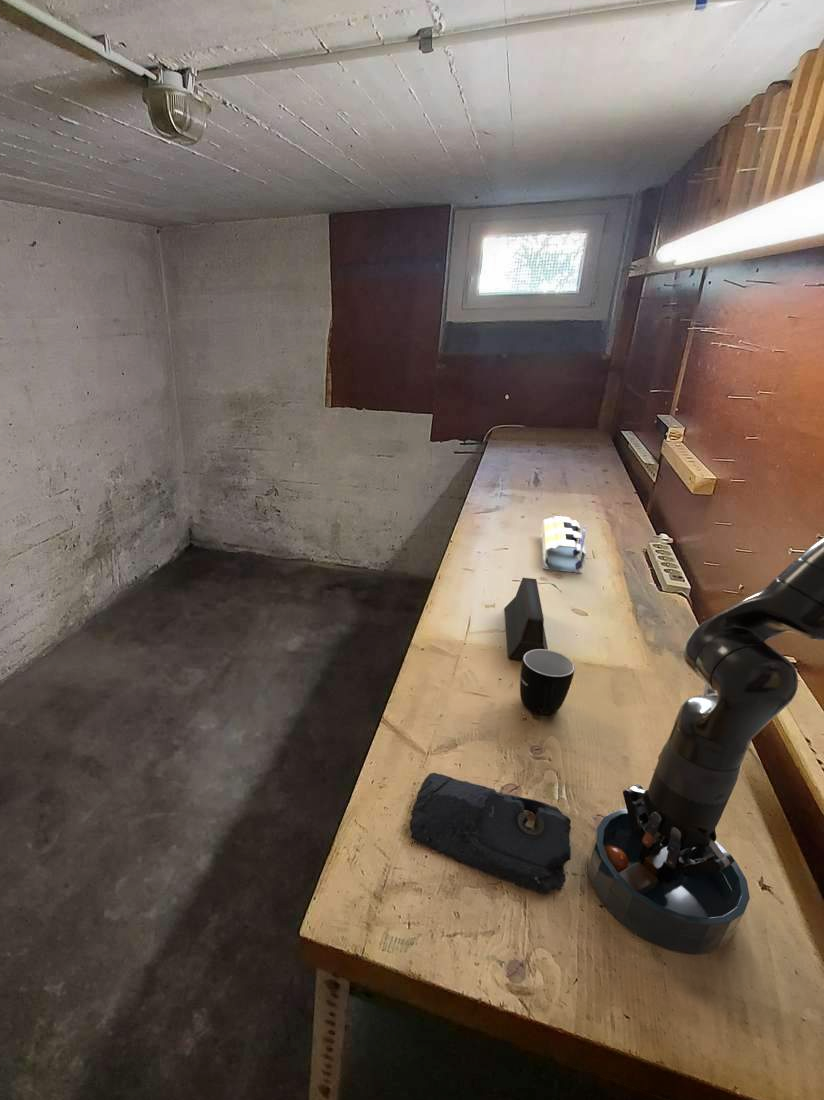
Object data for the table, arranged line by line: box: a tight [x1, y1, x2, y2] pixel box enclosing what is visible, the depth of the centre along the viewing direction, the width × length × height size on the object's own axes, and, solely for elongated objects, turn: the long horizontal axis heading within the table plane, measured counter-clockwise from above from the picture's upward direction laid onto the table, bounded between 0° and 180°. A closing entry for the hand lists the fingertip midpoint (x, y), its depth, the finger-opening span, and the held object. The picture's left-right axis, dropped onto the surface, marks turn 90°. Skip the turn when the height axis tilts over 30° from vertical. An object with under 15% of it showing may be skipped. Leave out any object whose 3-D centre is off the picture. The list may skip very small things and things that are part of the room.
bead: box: [604, 845, 628, 873], centre depth 77 cm, size 4×4×4 cm
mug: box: [519, 649, 576, 716], centre depth 106 cm, size 12×9×10 cm
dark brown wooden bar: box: [618, 847, 698, 895], centre depth 75 cm, size 12×3×3 cm, turn 113°
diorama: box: [540, 515, 587, 574], centre depth 169 cm, size 25×10×13 cm, turn 159°
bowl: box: [587, 808, 751, 955], centre depth 74 cm, size 17×17×6 cm
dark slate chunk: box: [409, 772, 572, 894], centre depth 84 cm, size 15×22×5 cm
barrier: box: [503, 577, 549, 661], centre depth 130 cm, size 24×9×10 cm, turn 162°
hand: (656, 871), depth 75 cm, fingers closed on dark brown wooden bar, 2 cm apart
